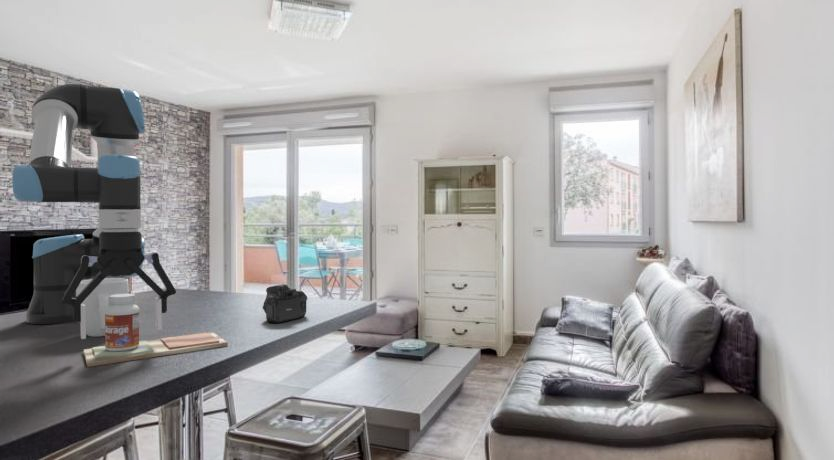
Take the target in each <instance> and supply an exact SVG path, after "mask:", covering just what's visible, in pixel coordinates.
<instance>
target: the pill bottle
mask: <svg viewBox="0 0 834 460" xmlns="http://www.w3.org/2000/svg"><path fill="white" fill-rule="evenodd" d="M109 302H110V303H111V306H109V307H108V308H107V309H106V311H105V336H104V337H105V338H104V346H105V348H106V350H108V351H126V350H132V349H135V348H137V347H138V346H139V341H140V307H139V306H138V305H137V304H135V302H136V294H135V293H129V294H115V295H110V296H109Z"/></svg>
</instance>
